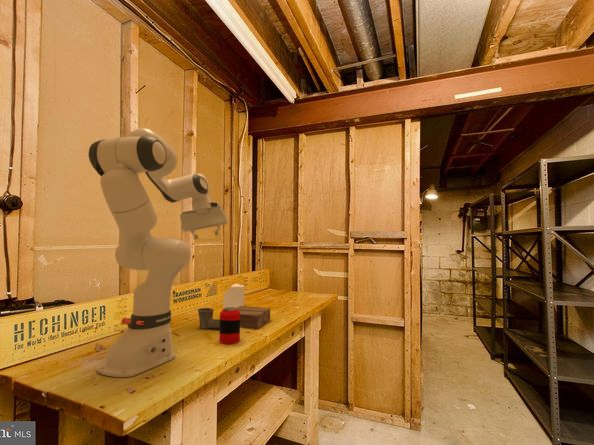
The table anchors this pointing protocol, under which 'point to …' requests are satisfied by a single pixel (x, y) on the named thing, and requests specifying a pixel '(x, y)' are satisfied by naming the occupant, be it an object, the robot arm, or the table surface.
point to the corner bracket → (234, 296)
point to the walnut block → (253, 317)
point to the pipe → (208, 319)
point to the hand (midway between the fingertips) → (206, 237)
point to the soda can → (229, 325)
